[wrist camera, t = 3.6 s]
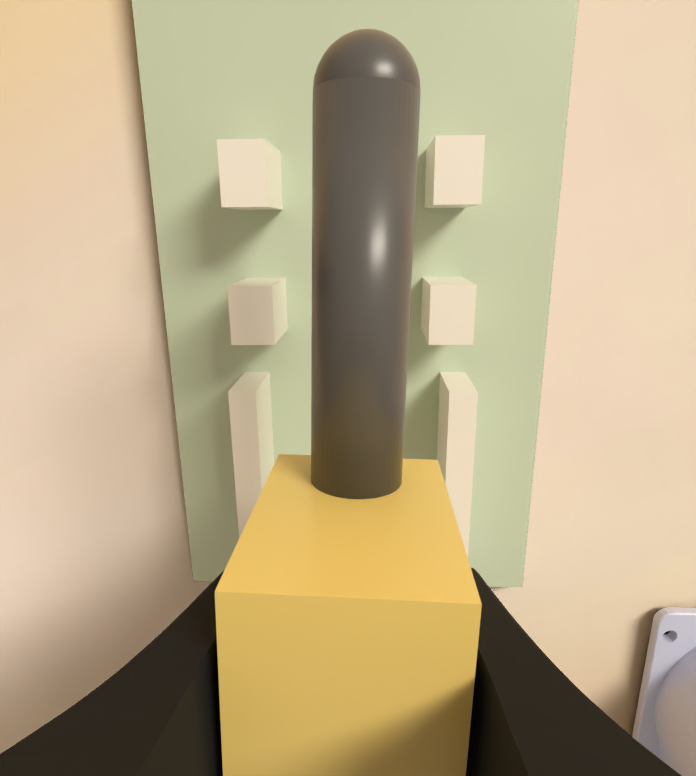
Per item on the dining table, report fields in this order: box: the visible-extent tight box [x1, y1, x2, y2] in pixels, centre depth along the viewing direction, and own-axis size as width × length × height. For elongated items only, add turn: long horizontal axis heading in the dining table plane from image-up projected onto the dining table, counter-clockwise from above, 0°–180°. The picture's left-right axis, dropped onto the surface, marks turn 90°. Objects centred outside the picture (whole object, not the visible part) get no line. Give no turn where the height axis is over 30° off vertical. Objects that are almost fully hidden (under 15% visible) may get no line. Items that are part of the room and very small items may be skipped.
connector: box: [215, 29, 482, 776], centre depth 9 cm, size 12×4×5 cm, turn 179°
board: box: [132, 0, 579, 587], centre depth 16 cm, size 20×12×3 cm, turn 1°
